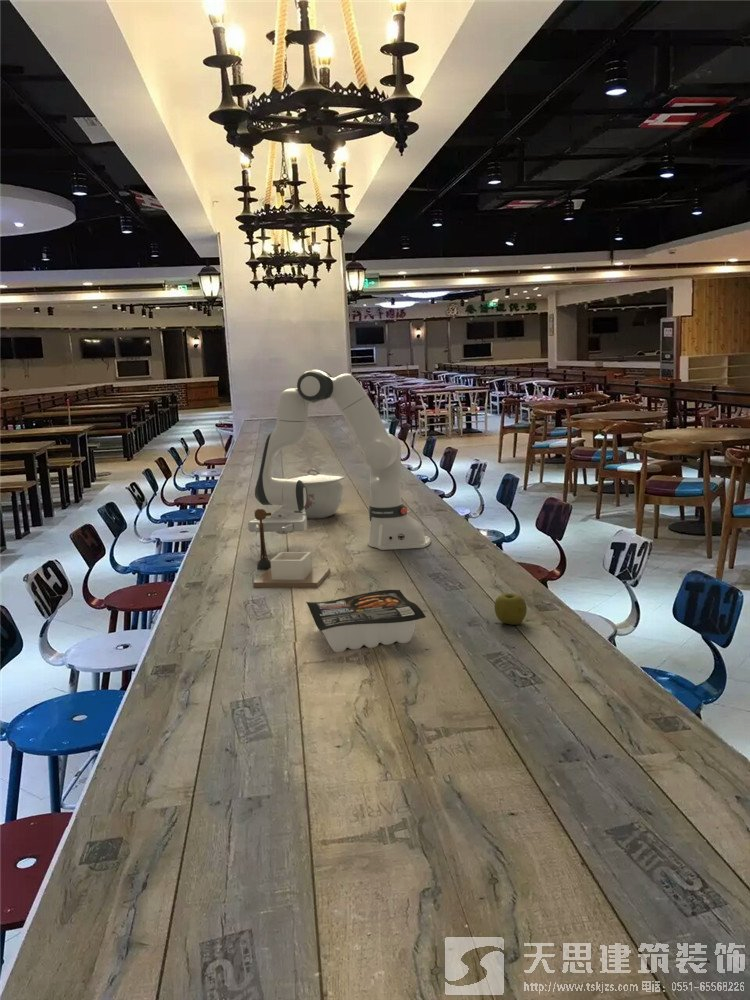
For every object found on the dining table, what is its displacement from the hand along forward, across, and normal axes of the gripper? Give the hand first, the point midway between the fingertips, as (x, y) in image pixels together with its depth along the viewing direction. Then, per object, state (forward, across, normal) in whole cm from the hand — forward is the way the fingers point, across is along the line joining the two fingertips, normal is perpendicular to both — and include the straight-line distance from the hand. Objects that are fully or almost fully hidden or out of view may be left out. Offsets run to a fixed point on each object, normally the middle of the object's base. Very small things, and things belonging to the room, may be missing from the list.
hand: (270, 530), depth 260 cm
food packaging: (+66, +45, +12) cm, 81 cm away
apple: (+56, +80, +11) cm, 99 cm away
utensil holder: (+21, +13, +11) cm, 27 cm away
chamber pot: (-74, -5, +11) cm, 75 cm away
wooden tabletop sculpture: (+8, 0, +11) cm, 14 cm away
